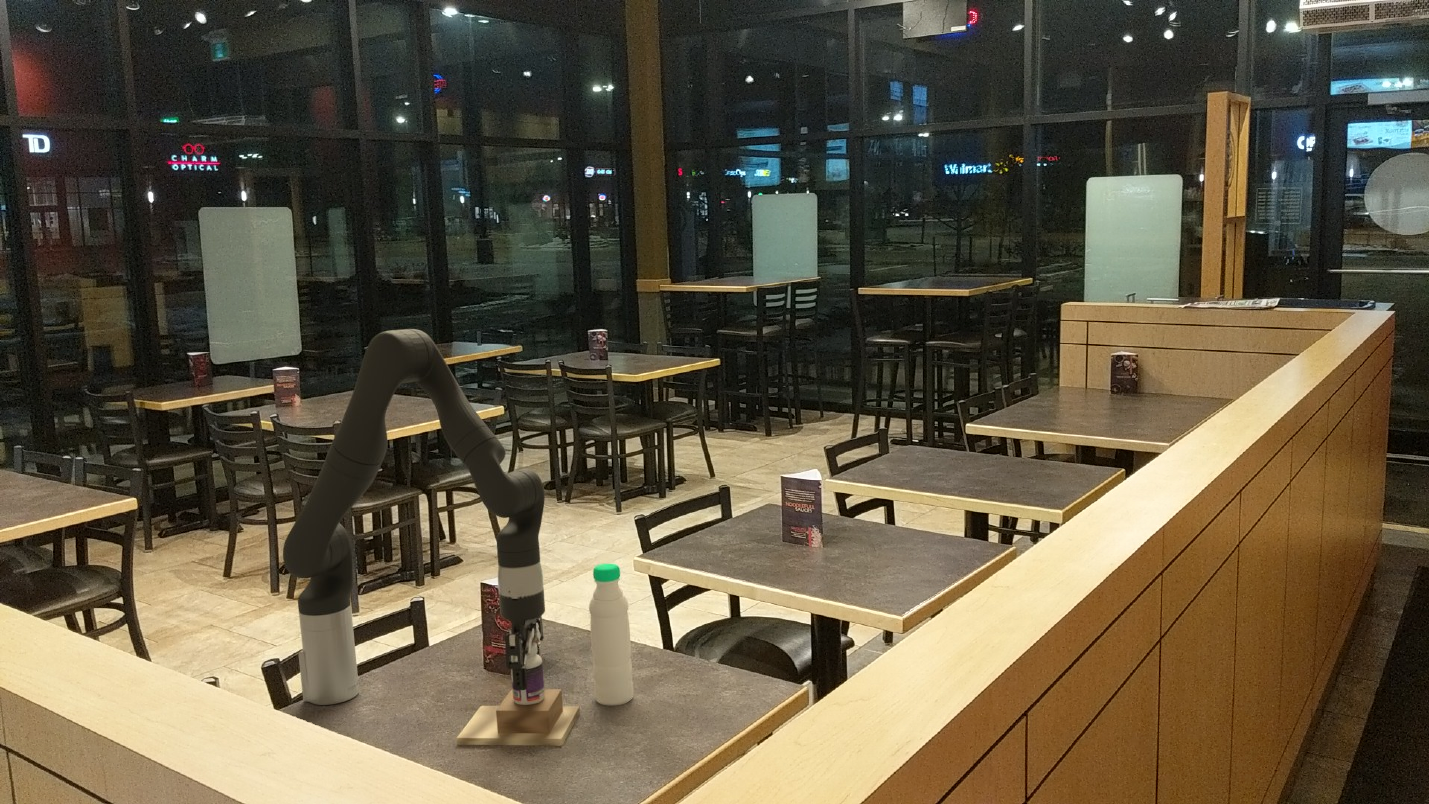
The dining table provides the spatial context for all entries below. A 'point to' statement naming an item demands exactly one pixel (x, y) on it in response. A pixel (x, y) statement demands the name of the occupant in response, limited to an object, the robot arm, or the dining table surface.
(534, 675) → the pill bottle
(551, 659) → the dining table surface
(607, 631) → the water bottle
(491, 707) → the beech board
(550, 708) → the walnut block
